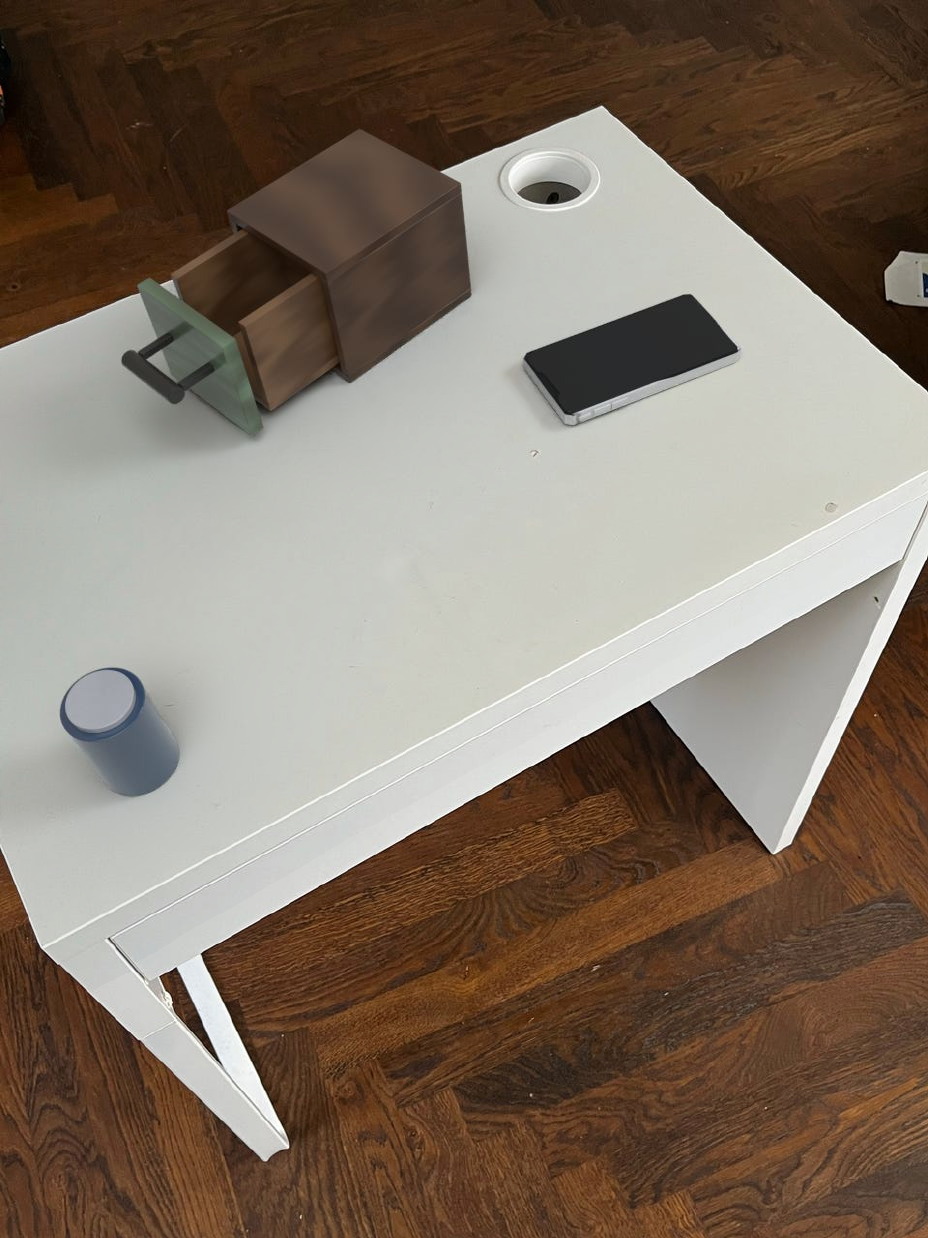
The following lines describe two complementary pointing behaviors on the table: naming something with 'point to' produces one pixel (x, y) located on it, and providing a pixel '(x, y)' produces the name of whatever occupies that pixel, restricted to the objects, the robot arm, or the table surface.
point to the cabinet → (368, 242)
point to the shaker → (120, 731)
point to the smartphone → (630, 358)
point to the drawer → (237, 330)
